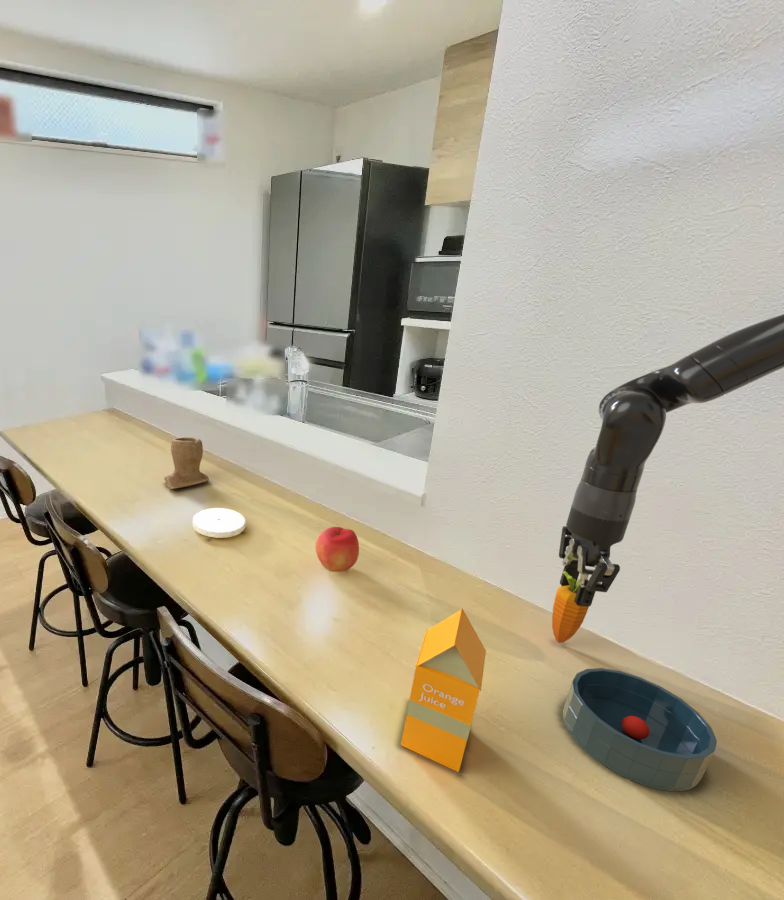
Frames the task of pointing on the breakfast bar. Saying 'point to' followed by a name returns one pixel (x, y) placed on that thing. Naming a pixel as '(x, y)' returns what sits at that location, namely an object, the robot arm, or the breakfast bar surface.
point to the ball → (635, 727)
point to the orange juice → (445, 691)
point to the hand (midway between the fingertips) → (574, 594)
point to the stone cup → (186, 463)
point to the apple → (337, 548)
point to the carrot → (567, 611)
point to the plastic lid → (218, 522)
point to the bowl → (668, 717)
